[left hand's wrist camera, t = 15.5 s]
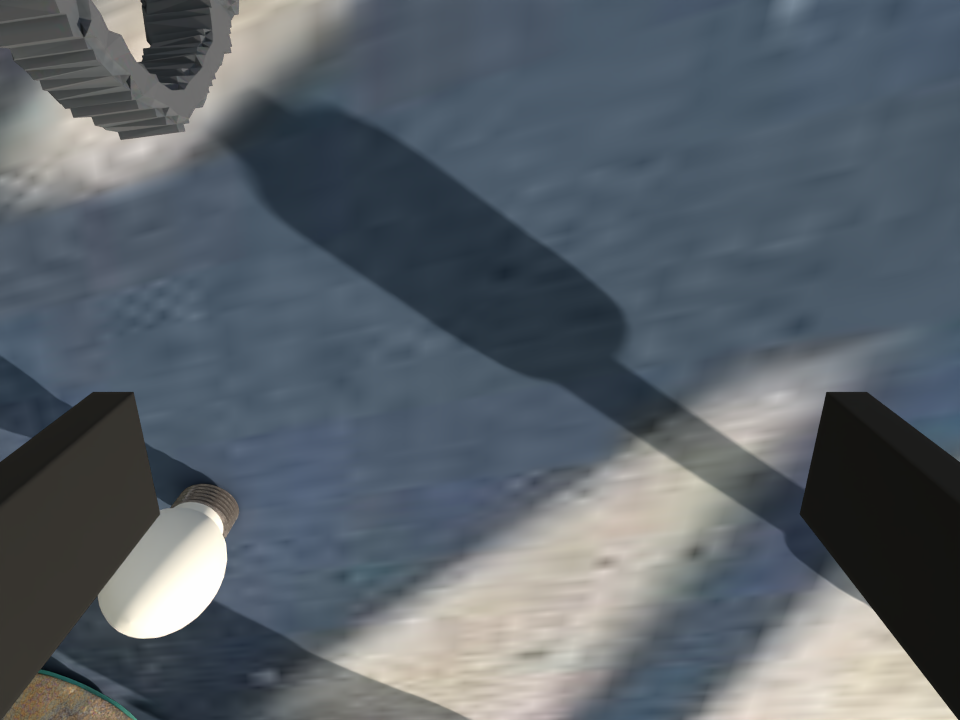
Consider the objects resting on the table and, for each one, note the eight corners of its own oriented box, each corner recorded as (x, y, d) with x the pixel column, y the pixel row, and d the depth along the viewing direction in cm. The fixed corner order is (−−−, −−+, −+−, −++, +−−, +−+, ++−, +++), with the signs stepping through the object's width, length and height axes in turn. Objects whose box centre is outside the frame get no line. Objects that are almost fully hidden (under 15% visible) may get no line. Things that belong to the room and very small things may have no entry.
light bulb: (267, 483, 45) (205, 596, 35) (242, 556, 47) (177, 682, 37) (171, 451, 44) (78, 557, 34) (150, 527, 47) (58, 647, 36)
